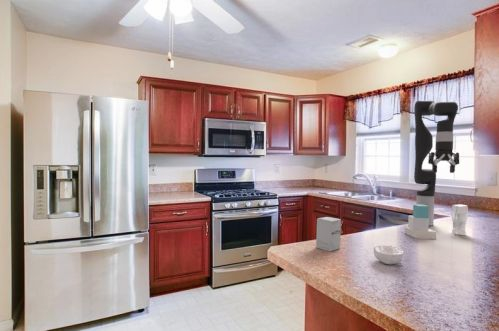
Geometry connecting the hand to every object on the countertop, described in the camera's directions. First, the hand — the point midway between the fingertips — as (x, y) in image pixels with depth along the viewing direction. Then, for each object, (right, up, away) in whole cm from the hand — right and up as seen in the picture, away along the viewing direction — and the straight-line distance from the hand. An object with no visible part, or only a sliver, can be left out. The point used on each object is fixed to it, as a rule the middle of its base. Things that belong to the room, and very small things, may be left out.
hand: (443, 172), depth 152 cm
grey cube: (-14, -28, -2) cm, 32 cm away
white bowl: (-49, -32, -43) cm, 73 cm away
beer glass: (+10, -33, +3) cm, 34 cm away
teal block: (-13, -23, -2) cm, 26 cm away
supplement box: (-66, -32, -27) cm, 78 cm away
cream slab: (-13, -33, -2) cm, 35 cm away
